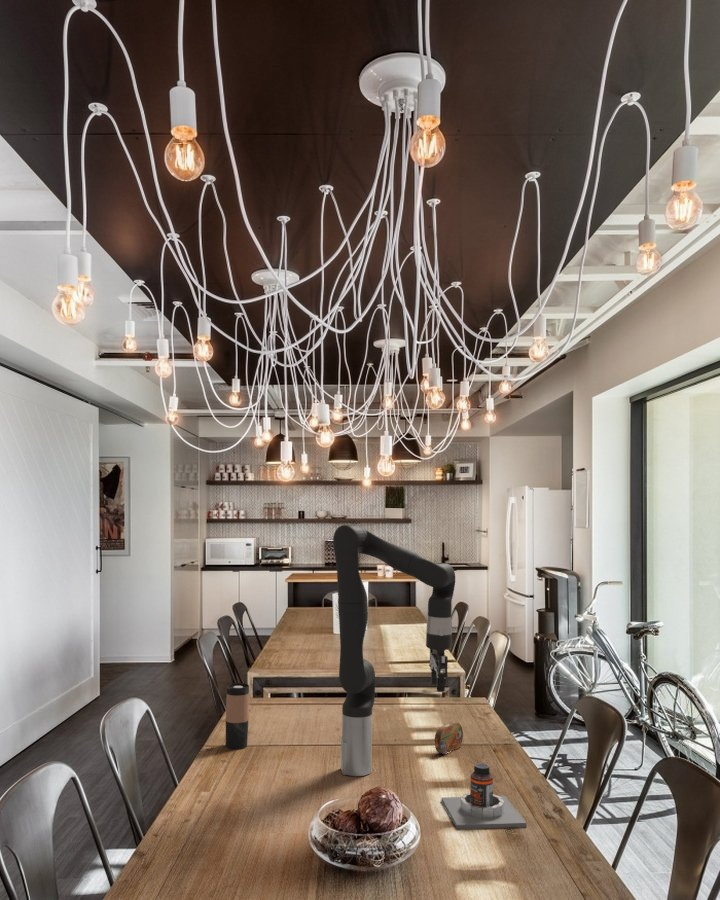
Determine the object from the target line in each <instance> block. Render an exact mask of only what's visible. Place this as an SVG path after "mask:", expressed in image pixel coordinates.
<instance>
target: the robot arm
mask: <svg viewBox="0 0 720 900" xmlns="http://www.w3.org/2000/svg"><path fill="white" fill-rule="evenodd" d="M332 537H333V538H332V539H333V540H332V543H333V544H332V545H333V552H334V558H335V566H336V575H337V577H336V580H337V582H336V584H337V603H338V604H337V605H338V607H337V608H338V609H337V610H338V622H339V623H338V625H339V642H340V643H339V644H340V647H339V648H340V650H339V651H340V653H339V654H340V655H339V669H338V677H339V678H338V679H339V683H340V685H341V688H342V689H343V690H344V691H345V692H346V697H345V699H344V701H343V704H342V708H341V709H342V711H341V712H342V713H341V714H342V716H341V717H342V718H341V737H340V739H341V740H340V769H341V775H343V776H345V775H346V776H351V777H362V776H368V775H369V774H371V773H372V766H373V765H372V764H373V763H372V757H373V756H372V751H373V749H372V746H373V738H372V737H373V707H374V703H375V700H376V699H375V694H376V693H375V692H376V671H375V669H374V665H373V664H372V663H371V662H370V661H368V660H367V659H365V658H364V653H363V652H364V649H363V648H364V639H365V636H366V631H367V628H368V627H367V626H368V620H369V606H368V605H369V604H368V603H369V601H368V596H367V594H368V593H367V591H366V589H365V585H364V582H363V580H362V577H361V575H360V571H359V560H358V559H359V558H358V555H359V554H362V555H367V556H370V557H374V558H376V559H377V560H380V561H382V562H383V563H385V564H386V565H387V566H389V567H391V568H392V569H394V570H396V571H398V572H400V573H403V574H405V575H408V576H410V577H413V578H415V579H417V580H418V581H420V582H421V583H423V584H425V585H427V586H428V587H432V592H431V593H432V594H431V595H430V597H429V598H428V601H427V602H428V603H427V620H426V628H425V629H426V633H425V636H426V637H425V646H426V648H428V649H429V665H428V666H429V668H430V683H431V685H436V691H437V692H439V693H441V692H443V693H444V692H445V691H446V689H445V688H446V679H447V678H448V677H449V676H448V675H449V674H448V660H449V658H448V655H445V654H446V653H445V651H447V650H451V649H452V646H453V645H452V644H453V643H452V641H453V621H452V620H453V619H452V613H453V611H452V610H453V609H452V607H453V605H452V601H453V600H452V599H453V597H454V593H455V592H454V591H455V585H456V572H455V570H454V568H453V566H451V564H449V563H446V562H445V563H444V562H442V563H441V562H440V563H435V562H433V561H431V560H428V559H426V558H425V557H424V556H423V555H422V554H419V553H417V552H416V551H415V552H414V551H412V550H409V549H407V548H405V547H401V546H399V545H397V544H394V543H392V542H389V541H387V540H385V539H383V538H381V537H379V536H377V535H376V534H374V533H372V532H371V531H370V530H368V529H366V528H364V527H363V526H361V525H359V524H343V525H340V526H338V527H337V528H336V529H335V531H334V533H333V536H332Z"/></svg>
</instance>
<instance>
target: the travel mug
mask: <svg viewBox="0 0 720 900" xmlns="http://www.w3.org/2000/svg"><path fill="white" fill-rule="evenodd" d="M225 700H226V701H225V702H226V703H225V704H226V705H225V749H229V750H243V749H245V748H247V746H248V738H249V737H248V736H249V716H250V715H249V713H250V712H249V711H250V685H249V684H247V683H243V682H241V683H240V682H236V683H230V684H228V685H226V699H225Z"/></svg>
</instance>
